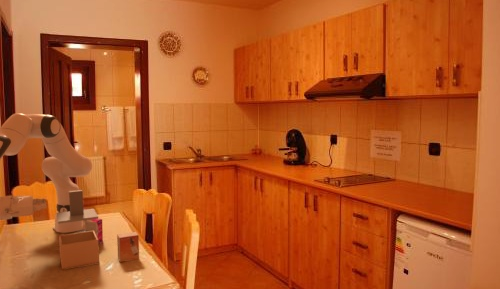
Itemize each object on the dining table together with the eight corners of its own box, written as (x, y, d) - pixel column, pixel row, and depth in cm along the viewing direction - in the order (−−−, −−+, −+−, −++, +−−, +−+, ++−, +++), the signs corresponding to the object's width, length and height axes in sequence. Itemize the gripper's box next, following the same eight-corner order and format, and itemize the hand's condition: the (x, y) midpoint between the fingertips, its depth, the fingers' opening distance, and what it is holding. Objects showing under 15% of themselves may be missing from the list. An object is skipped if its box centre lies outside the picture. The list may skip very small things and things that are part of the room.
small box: (120, 262, 166) (118, 237, 165) (117, 258, 171) (116, 234, 170) (139, 259, 170) (138, 234, 169) (136, 254, 175) (135, 231, 174)
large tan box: (60, 258, 172) (58, 235, 171) (94, 252, 178) (93, 230, 177) (62, 269, 159) (60, 245, 158) (99, 263, 166) (98, 239, 165)
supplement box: (96, 246, 186) (95, 221, 185) (85, 245, 188) (83, 221, 187) (103, 241, 192) (102, 218, 191) (92, 241, 193) (91, 217, 192)
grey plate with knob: (56, 214, 170) (55, 189, 169) (93, 210, 177) (92, 186, 176) (58, 223, 157) (56, 196, 156) (98, 218, 164) (97, 192, 163)
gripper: (3, 205, 145) (46, 201, 152) (7, 194, 163) (45, 190, 170) (4, 222, 146) (47, 217, 152) (8, 209, 164) (46, 205, 170)
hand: (46, 203), depth 161 cm, fingers open, 8 cm apart
